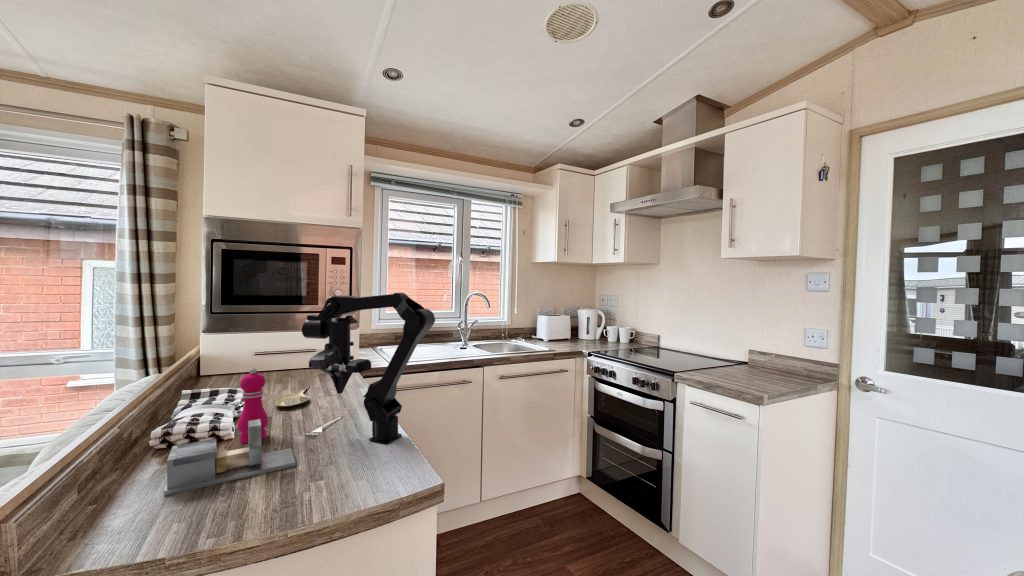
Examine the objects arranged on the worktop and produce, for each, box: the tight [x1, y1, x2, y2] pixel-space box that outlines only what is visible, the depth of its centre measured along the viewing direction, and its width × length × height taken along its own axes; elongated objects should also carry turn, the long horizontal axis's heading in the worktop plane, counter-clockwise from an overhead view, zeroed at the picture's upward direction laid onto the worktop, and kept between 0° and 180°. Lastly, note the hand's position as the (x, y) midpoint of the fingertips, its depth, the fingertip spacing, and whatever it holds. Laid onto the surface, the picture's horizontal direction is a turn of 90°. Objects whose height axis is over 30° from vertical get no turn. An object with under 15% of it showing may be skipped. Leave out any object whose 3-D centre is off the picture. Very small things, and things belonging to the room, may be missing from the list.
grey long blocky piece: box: [163, 438, 297, 497], centre depth 94 cm, size 24×10×7 cm, turn 124°
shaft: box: [215, 419, 262, 473], centre depth 92 cm, size 15×5×9 cm, turn 124°
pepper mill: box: [237, 367, 269, 444], centre depth 113 cm, size 7×7×20 cm
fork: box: [302, 416, 342, 436], centre depth 124 cm, size 3×20×2 cm, turn 173°
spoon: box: [274, 389, 310, 407], centre depth 155 cm, size 35×11×2 cm, turn 16°
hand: (339, 393), depth 116 cm, fingers closed
